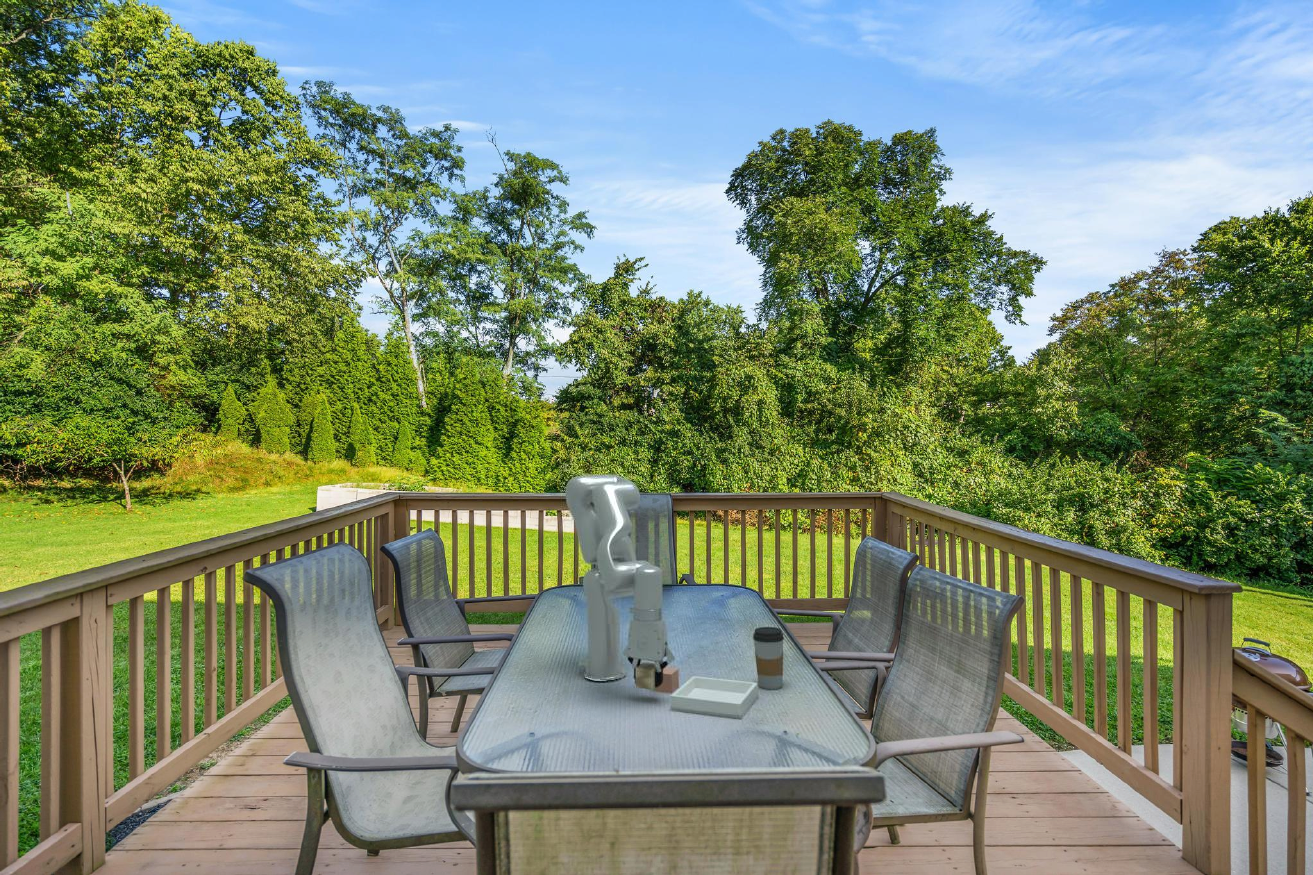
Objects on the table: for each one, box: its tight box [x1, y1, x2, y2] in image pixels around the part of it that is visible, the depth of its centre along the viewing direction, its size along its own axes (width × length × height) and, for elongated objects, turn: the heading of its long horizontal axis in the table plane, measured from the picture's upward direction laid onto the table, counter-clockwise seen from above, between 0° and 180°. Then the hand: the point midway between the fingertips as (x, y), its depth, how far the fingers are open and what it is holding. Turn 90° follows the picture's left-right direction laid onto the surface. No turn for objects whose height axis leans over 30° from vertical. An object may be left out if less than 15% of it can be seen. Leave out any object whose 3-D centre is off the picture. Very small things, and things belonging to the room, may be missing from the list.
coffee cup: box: [752, 626, 784, 691], centre depth 171 cm, size 8×8×15 cm
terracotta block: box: [654, 667, 680, 694], centre depth 171 cm, size 5×5×5 cm
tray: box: [669, 675, 759, 720], centre depth 159 cm, size 18×16×4 cm
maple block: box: [635, 661, 656, 691], centre depth 163 cm, size 5×5×5 cm
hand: (648, 683), depth 163 cm, fingers closed on maple block, 5 cm apart
